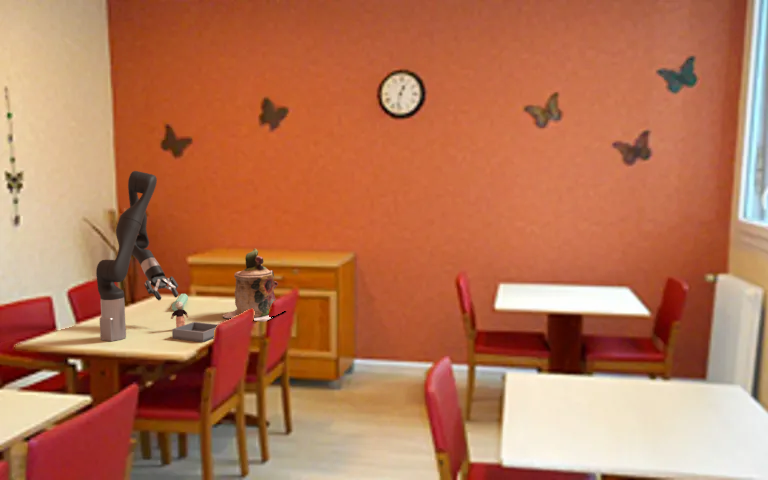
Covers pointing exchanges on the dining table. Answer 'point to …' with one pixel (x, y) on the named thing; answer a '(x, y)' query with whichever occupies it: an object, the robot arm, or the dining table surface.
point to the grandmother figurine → (179, 314)
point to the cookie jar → (254, 288)
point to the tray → (194, 332)
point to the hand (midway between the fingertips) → (168, 297)
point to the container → (181, 298)
